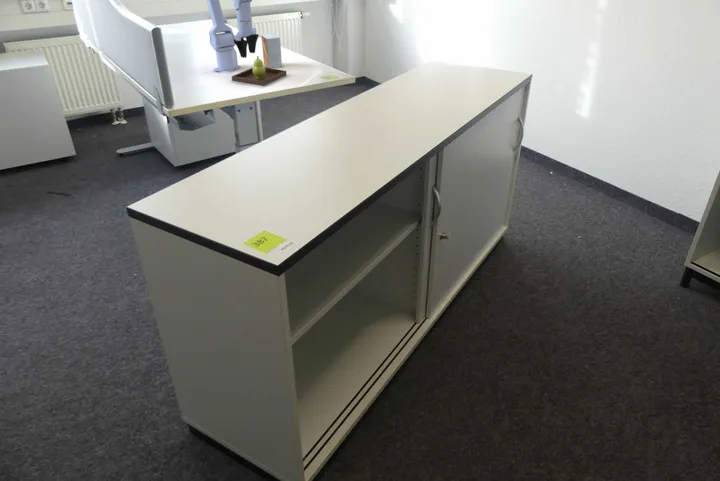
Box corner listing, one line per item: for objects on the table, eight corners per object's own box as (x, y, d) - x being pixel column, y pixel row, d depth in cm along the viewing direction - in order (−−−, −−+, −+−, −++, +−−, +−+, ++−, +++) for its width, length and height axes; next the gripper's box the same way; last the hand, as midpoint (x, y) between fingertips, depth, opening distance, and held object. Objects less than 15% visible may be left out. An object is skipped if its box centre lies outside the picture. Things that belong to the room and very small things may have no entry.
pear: (256, 75, 237) (254, 53, 232) (268, 76, 236) (266, 54, 231) (251, 78, 233) (248, 57, 228) (262, 80, 231) (260, 58, 226)
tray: (256, 71, 244) (256, 66, 243) (286, 76, 238) (286, 70, 237) (232, 81, 231) (231, 76, 229) (262, 87, 225) (262, 81, 224)
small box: (263, 64, 253) (261, 34, 246) (276, 62, 255) (274, 33, 248) (268, 69, 247) (266, 38, 240) (282, 67, 249) (280, 37, 242)
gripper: (245, 24, 213) (248, 60, 220) (261, 17, 225) (264, 51, 232) (228, 23, 215) (232, 58, 222) (246, 16, 226) (249, 50, 234)
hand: (248, 55), depth 227 cm, fingers open, 7 cm apart
